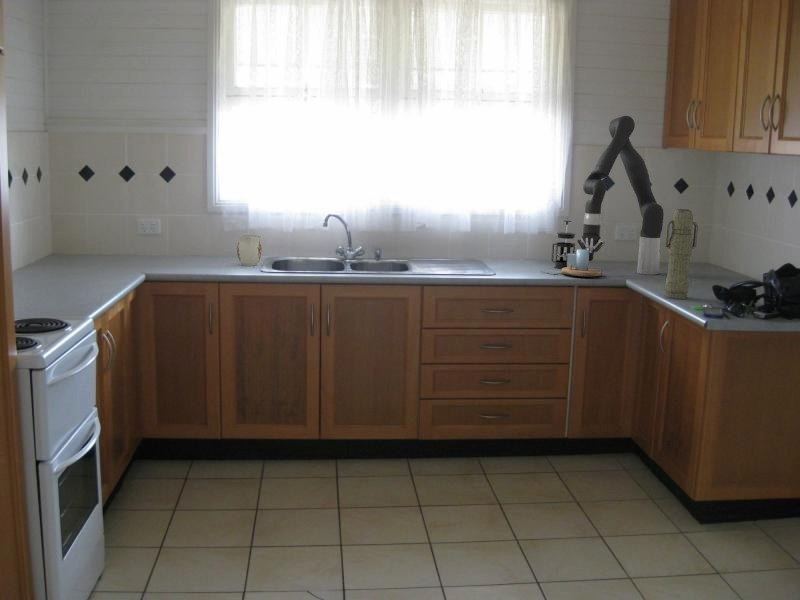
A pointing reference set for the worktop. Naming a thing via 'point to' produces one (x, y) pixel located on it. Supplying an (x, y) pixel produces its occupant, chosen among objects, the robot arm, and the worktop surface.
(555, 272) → the slate mat
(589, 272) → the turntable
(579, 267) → the pale blue carafe
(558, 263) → the french press
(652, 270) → the robot arm
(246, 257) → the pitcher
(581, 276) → the turntable base
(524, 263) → the worktop surface
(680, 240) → the thermos
